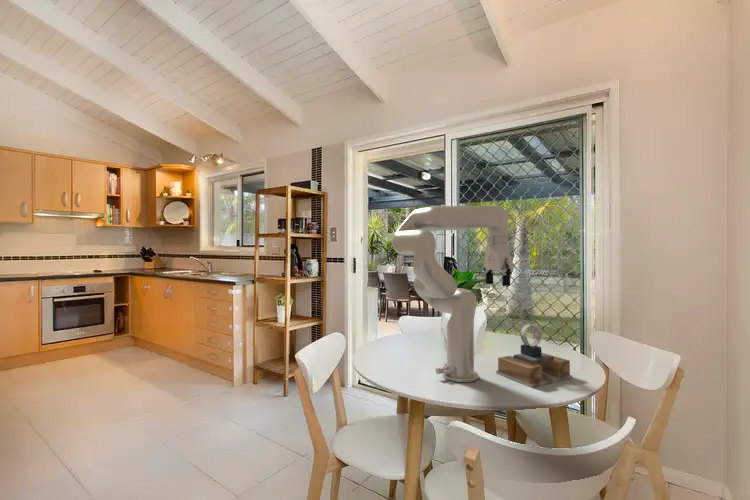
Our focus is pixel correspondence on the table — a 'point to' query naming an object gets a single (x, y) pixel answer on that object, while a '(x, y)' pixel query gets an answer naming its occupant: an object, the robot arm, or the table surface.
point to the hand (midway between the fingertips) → (497, 284)
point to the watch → (532, 348)
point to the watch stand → (534, 369)
